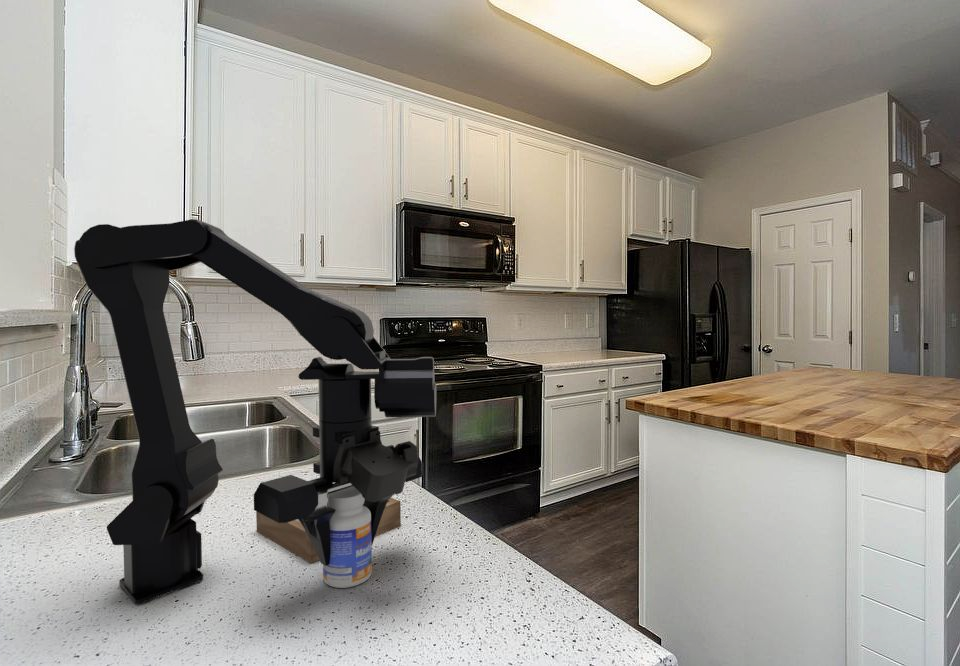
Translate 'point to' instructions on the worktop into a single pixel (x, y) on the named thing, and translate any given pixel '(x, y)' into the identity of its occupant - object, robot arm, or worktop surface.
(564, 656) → the worktop surface
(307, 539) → the walnut box
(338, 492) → the pill bottle
